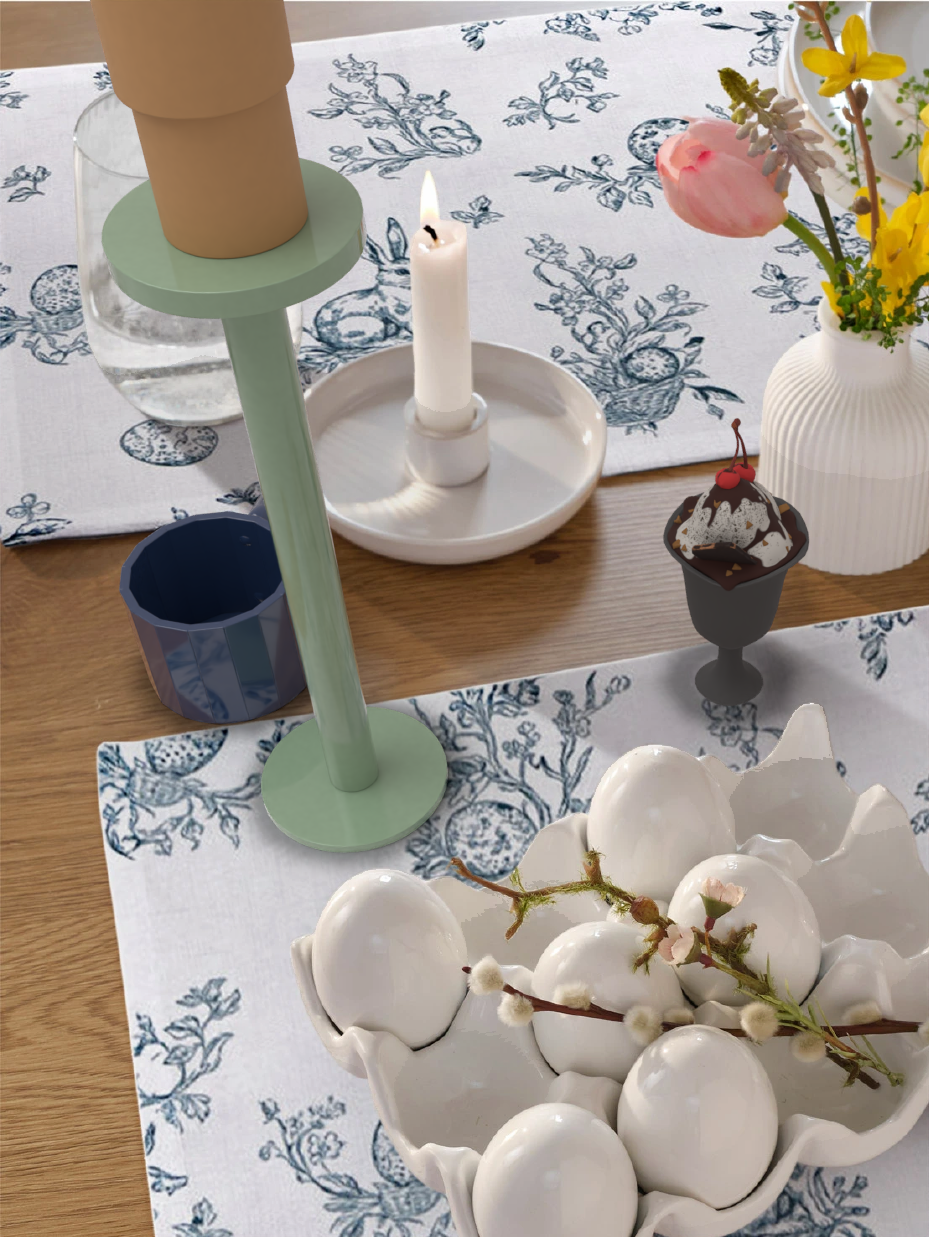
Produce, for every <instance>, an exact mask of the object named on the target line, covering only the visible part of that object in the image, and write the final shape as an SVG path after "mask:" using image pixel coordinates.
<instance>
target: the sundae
mask: <svg viewBox="0 0 929 1237" xmlns="http://www.w3.org/2000/svg"><path fill="white" fill-rule="evenodd" d="M741 424H742V421H741V419H740V418H739V417H736V418H734V419H733V420H732V422H731V424H730V427H731V428H732V431H733V433H734V437H735V440H736V448H735V452H734V455H733V456H732V457H733V458H732V460H731V462H730V464H729V467H723V468H721V469H719V470H718V471H717V472H716V473H715V478H714V482H715V483H714V484H713V485H711V486H709V487H708V488H707V489H706V490H705V491H702V492H701V493H698V494H696V495H689V496H687V497H686V498H684V500H683V502H681V503H680V505H679V506H678V507H677V508H676V509H675V510H674V511H673V512H672V514H671V515H670V517H669V518H668V520H667V522H666V524H665V527H664V531H663V534H662V539H663V540H662V542H663V544H664V546H665V548H666V550H667V552H668V553H669V554H670V556H671V557H672V558H673V559H674V560H675V561H676V562H677V563H679V564H680V567H681V570H682V575H683V581H684V588H685V597H686V603H687V604H686V605H687V608H688V611H689V615H690V620H691V624H692V625H693V627H694V628H695V630H696V632H697V633H698V634H699V635H700V636H701V637H702V638H704V639H705V640H706V641H708V642H709V643H711V644H713V645H715V646H717V647H718V652H717V653H718V654H717V657H716V659H713V660H710V661H709V662H707V663H705V664H703V665H702V667H700V668H699V669H698V670H697V672H696V674H695V677H694V686H695V687H696V689H697V691H698V693H699V694H700V695H701V696H702V697H704V698H705V699H706V700H707V701H709V702H711V703H713V704H714V705H715V704H716V705H718V706H723V707H734V706H740V705H743V704H746V703H748V702H750V701H752V700H753V699H755V698H756V697H757V696H758V695H759V694H760V693H761V691H762V690H763V687H764V678H763V676H762V674H761V672H760V671H759V670H758V668H756V667H755V666H754V665H753V664H752V663H750V662H748V661H747V660H744V659H743V651H744V648H745V647H747V646H750V645H752V644H753V643H756V642H757V641H759V640H761V639H763V637H764V636H765V635H766V634H767V633H769V631H770V630H771V628H772V625H773V622H774V620H775V618H776V615H777V612H778V608H779V604H780V600H781V595H782V593H783V592H782V591H783V587H784V583H785V579H786V576H787V573H788V571H789V569H792V568H793V567H794V566H796V564H798V563H799V562H800V561H801V560H803V558H805V556H806V554H807V552H808V551H809V546H810V536H809V535H810V534H809V533H810V532H809V530H808V527H807V524H806V521H805V520H804V518H803V516H802V514H801V512H800V511H798V509H796V507H795V506H794V505H792V504H791V503H789V501H787V500H785V499H783V498H781V497H777V496H774V495H773V493H772V492H770V491H769V490H768V488H766V487H765V485H763V484H762V483H760V482H758V481H756V480H755V479H756V475H757V473H756V469H755V468H754V466H753V465H752V464H750V463H749V462H748V454H747V449H746V446H745V442H744V440H743V437H742V435H741V433H740V432H739V427H740V425H741ZM740 446H741V451H742V458H743V461H740V462H737V459H738V455H739V451H740Z"/></svg>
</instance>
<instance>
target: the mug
mask: <svg viewBox="0 0 929 1237" xmlns="http://www.w3.org/2000/svg"><path fill="white" fill-rule="evenodd" d="M125 559H126V560H125V561H124V562H123V564H122V565H121V568H120V575H119V576H120V578H119V586H118V587H119V588H118V592H119V594H120V597H121V601H122V604H123V606H124V609H125V612H126V615H127V618H128V621H129V624H130V627H131V630H132V632H133V635H134V638H135V642H136V644H137V647H138V650H139V653H140V655H141V659H142V662H143V664H144V668H145V671H146V674H147V676H148V679H149V682H150V685H151V686H152V688H153V690H154V692H155V693H156V695H157V697H158V699H159V701H160V703H162V705H164V706H165V707H167V708H168V709H169V710H170V711H173V712H174V713H175V714H177V715H179V716H180V717H183V718H185V719H189V720H190V721H191V720H192V721H195V722H199V723H207V724H216V725H217V724H219V725H221V724H222V725H223V724H237V723H243V722H247V721H252V720H255V719H258V718H261V717H264V716H267V715H269V714H271V713H273V712H275V711H278V710H279V709H281V708H283V707H284V706H286V705H287V704H289V703H290V702H291V701H293V700H295V698H296V697H297V696H298V695H299V694H301V693H302V692H303V691H304V690H305V689H306V688H307V687H308V686H307V682H306V678H305V674H304V670H303V665H302V661H301V657H300V653H299V649H298V644H297V640H296V636H295V632H294V628H293V623H292V619H291V615H290V611H289V607H288V602H287V598H286V594H285V590H284V586H283V581H282V577H281V573H280V569H279V564H278V560H277V556H276V552H275V548H274V543H273V539H272V535H271V531H270V527H269V522H268V518H267V514H266V510H265V506H264V501H263V497H262V493H261V494H260V495H259V496H258V498H257V499H256V501H255V502H254V504H253V505H252V506H251V509H249V512H248V513H243V512H236V511H227V510H226V511H218V512H207V513H196V514H192V515H190V516H187V517H184V518H181V519H178V520H176V521H173V522H170V523H167V524H165V525H163V526H160V527H159V528H157V529H156V530H155V531H153V532H152V533H151V534H149V535H148V536H147V537H144V538H143V539H142V540H140V542H138V543H137V544H135V546H134V548H133V549H132V551H131V552H130V554H128V556H127V558H125Z"/></svg>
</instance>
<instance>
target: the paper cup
mask: <svg viewBox="0 0 929 1237" xmlns="http://www.w3.org/2000/svg"><path fill="white" fill-rule="evenodd" d="M89 2H90V5H91V9H92V13H93V17H94V21H95V24H96V28H97V33H98V36H99V39H100V44H101V47H102V51H103V55H104V59H105V62H106V67H107V70H108V74H109V78H110V81H111V85H112V89H113V92H114V94H115V96H116V97H117V99H118V100H119V101H120V102H121V103H122V104H123V105H124V106H126V107H127V108H128V109H130V110H131V113H132V116H133V120H134V123H135V127H136V132H137V135H138V139H139V144H140V148H141V151H142V155H143V159H144V162H145V166H146V171H147V174H148V178H149V179H150V183H151V186H152V190H153V194H154V198H155V202H156V206H157V210H158V214H159V218H160V222H161V225H162V229H163V233H164V235H165V237H166V239H167V240H168V241H169V242H170V243H171V244H172V245H173V246H174V247H176V248H177V249H179V250H181V251H183V252H185V253H188V254H191V255H194V256H198V257H204V258H213V259H230V258H240V257H246V256H251V255H255V254H259V253H263V252H266V251H268V250H271V249H273V248H276V247H278V246H280V245H282V244H283V243H285V242H287V241H288V240H290V239H291V238H293V237H294V236H295V235H296V234H297V233H298V232H299V231H300V230H301V229H302V227H303V226H304V224H305V222H306V220H307V216H308V207H307V201H306V195H305V190H304V184H303V179H302V173H301V167H300V162H299V158H300V156H299V152H298V146H297V140H296V134H295V129H294V123H293V118H292V111H291V107H290V102H289V95H288V90H287V85H288V84H289V82H290V81H291V79H292V78H293V75H294V73H295V65H296V64H295V58H294V53H293V46H292V41H291V36H290V30H289V24H288V17H287V14H286V13H287V12H286V7H285V1H284V0H89ZM149 179H148V180H149Z"/></svg>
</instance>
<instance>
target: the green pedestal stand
mask: <svg viewBox="0 0 929 1237" xmlns="http://www.w3.org/2000/svg"><path fill="white" fill-rule="evenodd" d="M299 162H300V167H301V173H302V179H303V184H304V190H305V195H306V201H307V207H308V216H307V220H306V222H305V224H304V226H303V227H302V229H301V230H300V231H299V232H298V233H297V234H296V235H295V236H294V237H293V238H291V239H290V240H288V241H287V242H285V243H283V244H282V245H280V246H278V247H276V248H273V249H271V250H268V251H266V252H263V253H259V254H255V255H251V256H246V257H240V258H230V259H213V258H204V257H198V256H194V255H191V254H188V253H185V252H183V251H181V250H179V249H177V248H176V247H174V246H173V245H172V244H171V243H170V242H169V241H168V240H167V239H166V237H165V235H164V233H163V229H162V225H161V222H160V218H159V214H158V210H157V206H156V202H155V198H154V194H153V190H152V186H151V183H150V179H146V180H145V181H143V182H142V183H140V184H138V185H137V186H135V187H134V188H132V189H131V190H130V191H129V192H128V193H126V194H125V195H124V196H122V197H121V198H120V200H118V201H117V203H115V205H114V206H113V207H112V208H111V210H110V211H109V212H108V214H107V216H106V218H105V220H104V222H103V225H102V229H101V238H100V239H101V245H102V252H103V254H104V258H105V261H106V264H107V267H108V271H109V275H110V276H111V278H112V281H113V282H114V284H115V285H116V286H117V288H119V290H121V292H122V293H123V294H124V295H126V296H127V297H128V298H129V299H130V300H132V301H134V302H136V303H137V304H139V305H141V306H143V307H146V308H148V309H151V310H153V311H155V312H159V313H163V314H167V315H170V316H176V317H181V318H188V319H190V318H191V319H200V320H201V319H202V320H204V319H205V320H219V321H220V325H221V329H222V334H223V337H224V341H225V345H226V348H227V349H226V350H227V354H228V358H229V362H230V363H229V364H230V366H231V370H232V374H233V379H234V384H235V387H236V392H237V396H238V400H239V404H240V405H239V406H240V408H241V412H242V416H243V421H244V425H245V429H246V433H247V438H248V442H249V447H250V450H251V455H252V459H253V464H254V468H255V471H256V476H257V479H258V484H259V489H260V493H261V494H262V497H263V501H264V506H265V510H266V514H267V518H268V522H269V527H270V531H271V535H272V539H273V543H274V548H275V552H276V556H277V560H278V564H279V569H280V573H281V577H282V581H283V586H284V590H285V594H286V598H287V602H288V607H289V611H290V615H291V619H292V623H293V628H294V632H295V636H296V640H297V644H298V649H299V653H300V657H301V661H302V665H303V670H304V674H305V678H306V682H307V686H306V687H307V690H308V695H309V699H310V703H311V706H312V711H313V716H314V717H312V718H310V719H307V720H306V721H304V722H302V723H301V724H299V725H298V726H296V727H295V728H293V729H292V730H291V731H289V732H288V733H287V734H286V735H285V736H284V737H282V738H281V739H280V741H278V743H277V744H276V745H275V746H274V748H273V749H272V751H271V752H270V754H269V756H268V757H267V760H266V761H265V764H264V767H263V770H262V774H261V779H260V780H261V781H260V793H261V797H262V801H263V805H264V808H265V810H266V812H267V813H266V814H267V815H268V817H269V819H270V820H271V822H272V823H273V824H274V825H275V826H276V827H277V829H278V830H279V831H280V832H281V833H282V834H284V835H286V836H287V837H288V838H289V839H290V840H293V841H294V842H296V843H298V844H300V845H303V846H305V847H308V848H311V849H315V850H319V851H321V852H322V851H323V852H328V853H344V854H345V853H346V854H347V853H360V852H365V851H372V850H374V849H375V850H376V849H379V848H382V847H383V848H384V847H385V846H388V845H391V844H393V843H395V842H398V841H400V840H402V839H404V838H405V837H407V836H408V835H410V834H412V833H413V832H415V831H416V830H418V828H420V827H421V826H423V824H425V823H426V821H428V819H430V818H431V817H432V816H433V814H434V813H435V812H436V810H437V809H438V807H439V806H440V804H441V802H442V800H443V798H444V796H445V793H446V790H447V786H448V780H449V768H448V761H447V756H446V753H445V749H444V747H443V745H442V743H441V741H440V740H439V738H438V737H437V736H436V734H434V732H433V731H432V730H431V729H430V728H429V727H427V726H426V725H425V724H424V723H422V722H421V721H419V719H417V718H414V717H412V716H411V715H409V714H407V713H403V712H400V711H398V710H394V709H390V708H385V707H377V706H367V704H366V699H365V695H364V694H365V693H364V689H363V684H362V680H361V675H360V670H359V665H358V658H357V654H356V649H355V644H354V640H353V634H352V629H351V624H350V619H349V615H348V614H349V613H348V609H347V605H346V604H347V603H346V601H345V600H346V598H345V594H344V589H343V585H342V579H341V575H340V569H339V565H338V560H337V554H336V549H335V545H334V539H333V534H332V530H331V524H330V520H329V515H328V510H327V504H326V500H325V494H324V489H323V485H322V480H321V475H320V470H319V465H318V460H317V455H316V450H315V445H314V440H313V435H312V429H311V426H310V425H311V424H310V420H309V414H308V410H307V405H306V401H305V400H306V398H305V395H304V390H303V385H302V381H301V374H300V371H299V366H298V360H297V355H296V351H295V350H296V349H295V345H294V340H293V335H292V330H291V325H290V319H289V316H288V311H287V308H289V307H292V306H294V305H297V304H300V303H303V302H305V301H307V300H309V299H311V298H314V297H315V296H317V295H319V294H321V293H323V292H324V291H326V290H328V289H330V288H331V287H332V286H334V285H336V284H337V283H338V282H339V281H341V280H342V279H343V278H344V277H345V276H346V275H347V274H348V273H349V272H351V271H352V269H353V268H354V267H355V266H356V264H357V263H358V262H359V260H360V258H361V256H362V255H363V254H364V250H365V246H366V243H367V237H368V231H367V223H366V218H365V211H364V205H363V200H362V197H361V195H360V193H359V190H358V189H357V188H356V187H355V186H354V184H353V183H352V182H351V181H350V180H349V179H348V178H347V177H345V176H344V175H343V174H342V173H340V172H338V171H337V170H335V169H333V168H331V167H330V166H327V165H325V164H323V163H320V162H316V161H314V160H310V159H306V158H303V157H299Z"/></svg>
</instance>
